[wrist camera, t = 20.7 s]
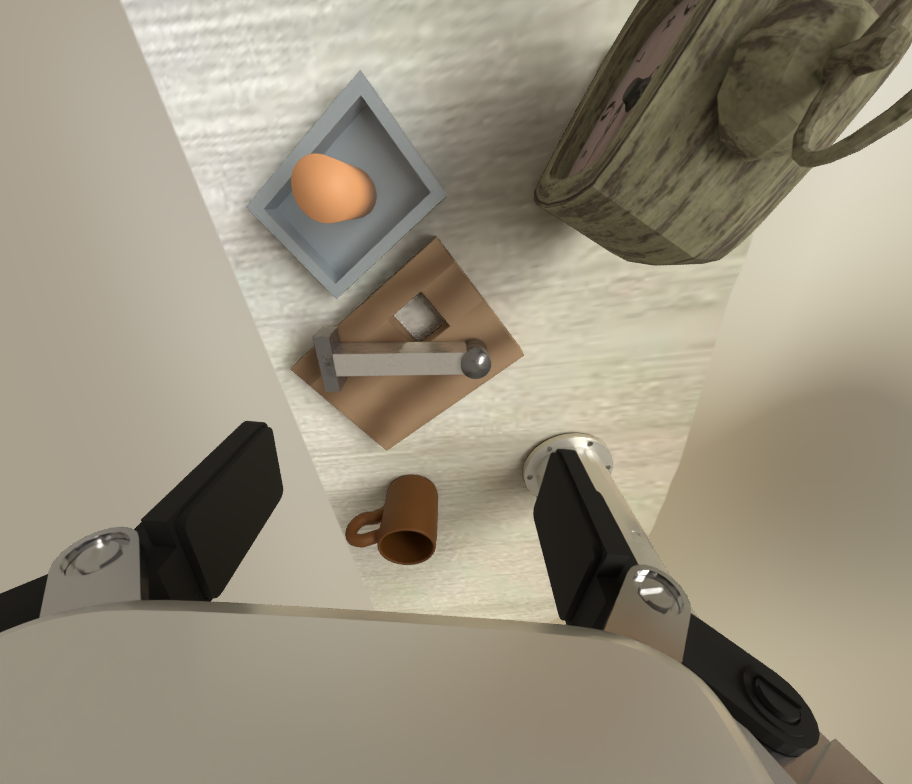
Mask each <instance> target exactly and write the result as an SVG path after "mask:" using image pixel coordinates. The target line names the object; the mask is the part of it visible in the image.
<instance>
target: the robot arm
mask: <svg viewBox="0 0 912 784" xmlns="http://www.w3.org/2000/svg"><path fill="white" fill-rule="evenodd" d="M612 469H613V458H612V455H611V453H610V451H609V449H608V448H607V447H606V445H605V444H604V443H603V442H602V441H600V440H599V439H597V438H595V437H593V436H590V435H587V434H580V433H570V434H563V435H559V436H556V437H553V438H550V439H548V440H547V441H545V442H543V443H541V444H540V445H539V446H537V447H536V448H535V449H534V450H533V451H532V452H531V453H530V455H529V456H528V458H527V459H526V462H525V464H524V469H523V475H524V480H525V483H526V486H527V488H528V489H529V491H530V492H531V493H532V494H533V495H535V496H536V497H537V500H536V503H535V506H534V512H533V515H534V521H535V525H536V529H537V533H538V537H539V541H540V545H541V548H542V552H543V556H544V560H545V564H546V568H547V572H548V576H549V580H550V583H551V587H552V591H553V595H554V599H555V603H556V607H557V611H558V614H559V617H560V619H561V620H565V621H566V625H561V624H549V623H538V622H526V621H515V620H501V619H486V618H472V617H457V616H443V615H428V614H412V613H397V612H381V611H365V610H348V609H333V608H317V607H316V608H315V607H299V606H282V605H264V604H247V603H229V602H211V600H212V599H213V598H217V597H218V596H220V594H221V593H222V592H223V590H224V589H225V587H226V585H227V584H228V582H229V581H230V579H231V577H232V576H233V574H234V573H235V571H236V569H237V568H238V566H239V565H240V563H241V561H242V560H243V558H244V557H245V555H246V553H247V552H248V550H249V549H250V547H251V546H252V544H253V542H254V541H255V539H256V538H257V536H258V534H259V533H260V531H261V530H262V528H263V526H264V525H265V523H266V522H267V520H268V518H269V517H270V515H271V514H272V512H273V510H274V509H275V507H276V506H277V504H278V502H279V501H280V499H281V497H282V494H283V485H282V479H281V474H280V468H279V463H278V457H277V452H276V447H275V441H274V436H273V431H272V429H271V428H270V427H268V426H267V424H266V423H264V422H253V421H245V422H243V423H242V424H241V425H240V426H239V427H238V428H237V429H236V430H235V431H233V433H231V434H230V435H229V436H228V437H227V438H226V439H225V440H224V441H223V442H222V443H221V444H220V445H219V446H218V447H217V448H216V449H215V450H213V451H212V452H211V453H210V454H209V455H208V456H207V457H206V458H205V459H204V460H203V461H202V462H201V463H200V464H199V465H198V466H197V467H196V468H195V469H194V470H192V471H191V472H190V473H189V474H188V475H187V476H186V477H185V478H184V479H183V480H182V481H181V482H180V483H179V484H178V485H177V486H176V487H175V488H174V489H173V490H172V491H170V492H169V493H168V494H167V495H166V496H165V497H164V498H163V499H162V500H161V501H160V502H159V503H158V504H157V505H156V506H155V507H154V508H153V509H152V510H151V511H149V512H148V513H147V514H146V515H145V516H144V517H143V518H142V519H141V521H142V522H141V523H140V524H139V525H138V526H137V527H136V528H135V529H134V530H133V529H132V528H128V527H115V528H109V529H105V530H102V531H98V532H95V533H93V534H91V535H88V536H86V537H84V538H82V539H80V540H79V541H77V542H75V543H73V544H72V545H70V546H69V547H68V548H67V549H65V550H64V551H63V552H61V553H60V555H59V556H58V557H57V558H56V559H55V560H54V561H53V563H52V565H51V568H50V570H49V573H48V574H47V575H45V576H42V577H40V578H37V579H35V580H32V581H30V582H28V583H25V584H23V585H20V586H18V587H15V588H13V589H11V590H8V591H6V592H3V593H1V594H0V784H883V783H882V782H881V781H880V780H879V779H878V778H877V777H876V776H874V775H873V774H872V773H871V772H870V771H869V770H868V769H867V768H866V767H865V766H864V765H863V764H862V763H861V762H860V761H859V760H857V759H856V758H855V757H854V756H853V755H852V754H851V753H850V752H849V751H848V750H847V749H845V747H844V746H843V745H842V744H841V743H840V742H838V741H837V740H836V739H834V740H832V741H831V742H830V741H829V740H828V739H827V738H826V737H825V736H824V735H822V733H820V732H819V729H818V725H817V722H816V720H815V718H814V716H813V714H812V712H811V710H810V708H809V707H808V705H807V704H806V703H805V701H804V700H803V698H802V697H801V696H800V695H799V694H798V692H797V691H796V690H795V689H794V688H793V687H792V686H791V685H790V684H789V683H788V682H786V681H785V680H784V679H783V678H782V677H781V676H779V675H778V674H777V673H775V672H774V671H773V670H771V669H770V668H768V667H767V666H766V665H764V664H763V663H761V662H760V661H759V660H757V659H756V658H754V657H753V656H751V655H750V654H749V653H747V652H746V651H744V650H743V649H742V648H740V647H739V646H737V645H736V644H734V643H733V642H732V641H730V640H729V639H727V638H726V637H724V636H723V635H722V634H720V633H719V632H717V631H716V630H715V629H713V628H712V627H710V626H709V625H707V624H706V623H704V622H703V621H702V620H700V619H699V617H698V616H697V614H696V613H695V611H694V610H693V609H692V607H691V605H690V602H689V599H688V597H687V595H686V593H685V592H684V590H683V589H682V587H681V586H680V585H679V584H678V583H677V582H676V581H675V580H674V579H673V578H672V576H671V575H670V573H669V571H668V570H667V568H666V567H665V565H664V563H663V562H662V560H661V558H660V557H659V555H658V554H657V552H656V550H655V549H654V547H653V545H652V544H651V542H650V541H649V539H648V537H647V535H646V534H645V532H644V530H643V529H642V527H641V525H640V524H639V522H638V520H637V519H636V517H635V515H634V514H633V512H632V510H631V509H630V507H629V505H628V504H627V502H626V500H625V499H624V497H623V495H622V494H621V492H620V490H619V489H618V487H617V485H616V484H615V482H614V480H613V479H612V477H611V472H612Z"/></svg>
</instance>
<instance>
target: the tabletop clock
mask: <svg viewBox="0 0 912 784" xmlns="http://www.w3.org/2000/svg"><path fill="white" fill-rule="evenodd" d="M911 43H912V0H639V2H638V3H637V5H636V7H635V8H634V10H633V12H632V13H631V15H630V17H629V18H628V20H627V21H626V23H625V25H624V26H623V28H622V30H621V31H620V33H619V35H618V37H617V38H616V40H615V42H614V43H613V45H612V47H611V49H610V51H609V52H608V54H607V56H606V58H605V59H604V61H603V63H602V65H601V67H600V68H599V70H598V72H597V74H596V76H595V77H594V79H593V81H592V83H591V85H590V86H589V88H588V90H587V92H586V93H585V95H584V97H583V99H582V101H581V102H580V104H579V106H578V108H577V110H576V111H575V113H574V115H573V117H572V119H571V121H570V123H569V125H568V127H567V128H566V130H565V132H564V134H563V136H562V138H561V140H560V142H559V144H558V145H557V147H556V149H555V151H554V153H553V155H552V157H551V159H550V161H549V162H548V164H547V166H546V168H545V170H544V172H543V174H542V176H541V179H540V181H539V183H538V185H537V187H536V189H535V192H534V201H535V203H536V204H537V205H539V206H540V207H542V208H543V209H545V210H546V211H548V212H549V213H551V214H552V215H554V216H556V217H557V218H559V219H560V220H562V221H563V222H565V223H566V224H568V225H569V226H571V227H573V228H574V229H576V230H577V231H579V232H580V233H582V234H583V235H585V236H586V237H588V238H589V239H591V240H593V241H594V242H596V243H597V244H599V245H600V246H602V247H603V248H605V249H606V250H608V251H610V252H611V253H613V254H615V255H617V256H619V257H620V258H622V259H624V260H626V261H629V262H635V263H642V264H648V265H684V264H704V263H708V262H713V261H717V260H720V259H722V258H723V257H724V256H725V255H727V254H728V253H729V252H731V251H732V250H733V249H734V248H736V247H737V246H738V245H739V244H740V243H742V242H743V241H744V240H745V239H746V238H747V237H748V236H749V235H750V234H751V233H752V232H753V231H754V230H755V229H756V228H757V227H758V226H759V225H760V224H761V223H762V222H763V221H764V220H765V219H766V217H767V216H768V215H769V214H770V213H771V212H772V211H773V210H774V209H775V208H776V206H777V205H778V204H779V203H780V202H781V201H782V200H783V199H784V198H785V197H786V196H787V195H788V193H789V192H790V191H791V190H792V189H793V188H794V187H795V186H796V185H797V184H798V182H799V181H800V180H801V179H802V178H803V177H804V176H805V175H806V174H807V173H808V172H809V171H810V169H811V168H812V167H816V166H820V165H824V164H828V163H831V162H834V161H836V160H839V159H841V158H843V157H846V156H848V155H851V154H853V153H855V152H858V151H860V150H861V149H863V148H865V147H867V146H868V145H870V144H871V143H873V142H875V141H877V140H878V139H880V138H882V137H883V136H885V135H887V134H888V133H890V132H892V131H893V130H895V129H897V128H898V127H900V126H901V125H903V124H904V123H906V122H907V121H909V120H910V119H911V118H912V89H911V90H910V91H909V92H908V93H907V94H906V95H904V96H903V97H902V98H901V99H900V100H898V101H897V102H896V103H895V104H894V105H893V106H891V107H890V108H889V109H888V110H886V111H885V112H883V113H882V114H880V115H879V116H877V117H876V118H875V119H873V120H872V121H870V122H869V123H867V124H866V125H864V126H863V127H862V128H860V129H859V130H857V131H856V132H854V133H853V134H851V135H850V136H848V137H846V138H844V139H843V140H841V141H839V142H837V143H835V144H834V145H832V144H833V143H834V142H835V141H836V139H837V138H838V137H839V136H840V134H841V133H842V132H843V131H844V130H845V128H846V127H847V126H848V125H849V124H850V122H851V121H852V120H853V119H854V118H855V116H856V115H857V114H858V113H859V112H860V110H861V109H862V108H863V107H864V105H865V104H866V103H867V102H868V101H869V100H870V98H871V97H872V96H873V95H874V93H875V92H876V91H877V90H878V89H879V87H880V86H881V85H882V84H883V83H884V81H885V80H886V79H887V78H888V76H889V75H890V74H891V73H892V71H893V70H894V69H895V67H896V66H897V65H898V64H899V62H900V61H901V59H902V57H903V56H904V55H905V53H906V51H907V50H908V49H909V47H910V45H911ZM831 145H832V146H831Z"/></svg>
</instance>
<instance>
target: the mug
mask: <svg viewBox="0 0 912 784" xmlns="http://www.w3.org/2000/svg"><path fill="white" fill-rule="evenodd" d="M437 521H438V493H437V489H436V487H435V485H434V484H433V483H432V482H431V481H430V480H428V479H427V478H425V477H422V476H418V475H406V476H402V477H400V478H398V479H396V480H395V481H394V482H392V484H391V485H390V487H389V489H388V491H387V495H386V500H385V505H384V506H383V507H382V508H380V509H377V510H375V511H372V512H365V513H362V514H359V515H358V516H356V517H355V518H353V519H352V520H351V522H350V523H349V524H348V526H347V528H346V533H345V536H346V540H347V541H348V543H349V544H350V545H352V546H355V547H366V546H370V545H373V544H376V543H378V550H379V552H380V554H381V555H382V556H383V557H384V558H385V559H387V560H389V561H391V562H393V563H397V564H402V565H413V564H418V563H422V562H424V561H426V560H428V559H429V558H430V557H431V556H432V555H433V553H434V552H435V548H436V540H437ZM380 522H381V524H380V528H379V529H377V530H374V531H371V532H368V533H364V534H357V532H358V531H359V529H360V528H361V527H363V526H365V525H374V524H378V523H380Z"/></svg>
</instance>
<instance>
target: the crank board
mask: <svg viewBox="0 0 912 784" xmlns="http://www.w3.org/2000/svg"><path fill="white" fill-rule="evenodd" d="M420 292H422V293H423V294H424V295H425V296H426V298H427V299H428V300H429V301H430V302H431V304H432V305H433V306H434V307H435V308H436V310H437V311H438V312H439V313H440V314H441V316H442V317H443V318H444V319H445V320H446V321H447V322H446V323H444V324H443V325H442V326H441V327H439V328H438V329H437V330H436V331H434V332H433V333H432V334H430V335H429V336H428V337H427V338H425V339H424V340H423V341H422V342H452V341H467V340H469V339H479V340H481V341H483V342H484V343H485V344H486V346H487V349H488V353H489V357H490V360H491V369H490V371H489V373H488V374H487V375H486V376H484V377H483V378H480V379H471V378H468V377H467V376H465V375H464V374H458V375H392V376H347V378H348V379H347V380H346V382H345V384H344V386H343V387H342V389H341V391H340V392H325V388H324V383H323V379H322V375H321V370H320V366H319V362H318V358H317V353H316V349H315V346H314V347H313V348H312V349H311V350H310V351H309V352H307V353H306V354H305V355H304V356H303V357H302V358H301V359H300V360H299V361H298V362H297V363H296V364H295V365H294V366H293V367H292V368H291V370H292V371H293V372H294V373H295V374H297V375H298V376H299V377H300V378H301V379H303V380H304V381H305V382H306V383H307V384H308V385H310V386H311V387H312V388H313V389H314V390H316V391H317V392H318V393H319V394H320V395H322V396H323V397H324V398H325V399H326V400H327V401H329V402H330V403H331V404H332V405H333V406H335V407H336V408H337V409H338V410H339V411H340V412H342V413H343V414H344V415H345V416H346V417H348V418H349V419H350V420H351V421H352V422H354V423H355V424H356V425H357V426H358V427H359V428H361V429H362V430H363V431H364V432H365V433H367V434H368V435H369V436H370V437H371V438H373V439H374V440H375V441H376V442H377V443H378V444H380V445H381V446H382V447H383V448H384V449H386V450H388V449H390V448H391V447H393V446H394V445H396V444H397V443H398V442H400V441H401V440H403V439H404V438H406V437H407V436H409V435H410V434H411V433H413V432H414V431H416V430H417V429H419V428H420V427H422V426H423V425H424V424H426V423H427V422H429V421H430V420H432V419H433V418H435V417H436V416H437V415H439V414H440V413H442V412H443V411H445V410H446V409H448V408H449V407H450V406H452V405H453V404H455V403H456V402H458V401H459V400H461V399H462V398H463V397H465V396H466V395H468V394H469V393H471V392H472V391H474V390H475V389H476V388H478V387H479V386H481V385H482V384H484V383H485V382H487V381H488V380H490V379H491V378H492V377H494V376H495V375H497V374H498V373H500V372H501V371H503V370H504V369H505V368H507V367H508V366H510V365H511V364H513V363H514V362H516V361H517V360H518V359H520V358H521V357H523V356H524V354H523V352H522V350H521V348H520V346H519V345H518V344H517V342H516V341H515V340H514V338H513V337H512V336H511V334H510V333H509V332H508V330H507V329H506V328H505V326H504V325H503V324H502V322H501V321H500V320H499V318H498V317H497V316H496V314H495V313H494V312H493V310H492V309H491V308H490V306H489V305H488V304H487V302H486V301H485V300H484V298H483V297H482V296H481V294H480V293H479V292H478V290H477V289H476V288H475V286H474V285H473V284H472V283H471V281H470V280H469V279H468V277H467V276H466V275H465V273H464V272H463V271H462V269H461V268H460V267H459V265H458V264H457V263H456V261H455V260H454V259H453V257H452V256H451V255H450V253H449V252H448V251H447V249H446V248H445V247H444V245H443V244H442V243H441V241H440V240H439V239H438V237H437V236H436V237H435V238H434V239H433V240H432V241H430V242H429V243H428V244H427V245H426V246H425V247H424V248H423V249H422V250H421V251H419V252H418V253H417V254H416V255H415V256H414V257H413V258H412V259H411V260H409V261H408V262H407V263H406V264H405V265H404V266H403V267H402V268H401V269H399V270H398V271H397V272H396V273H395V274H394V275H393V276H392V277H391V278H389V279H388V280H387V281H386V282H385V283H384V284H383V285H382V286H381V287H380V288H378V289H377V290H376V291H375V292H374V293H373V294H372V295H371V296H370V297H368V298H367V299H366V300H365V301H364V302H363V303H362V304H361V305H360V306H358V307H357V308H356V309H355V310H354V311H353V312H352V313H351V314H350V315H348V316H347V317H346V318H345V319H344V320H343V321H342V322H341V323H340V324H339V325H337V326H338V330H339V336H340V341H341V343H375V342H417V341H416V339H415V338H414V337H413V336H412V335H411V334H410V333H409V332H408V331H407V330H406V329H405V328H404V326H403V325H402V324H401V323H400V322H399V321H398V320H397V319H396V318H395V317H394V316H393V315H394V314H395V313H396V312H397V311H398V310H400V309H401V308H402V307H403V306H404V305H406V304H407V303H408V302H409V301H410V300H411V299H413V298H414V297H415V296H416V295H417V294H418V293H420Z"/></svg>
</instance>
